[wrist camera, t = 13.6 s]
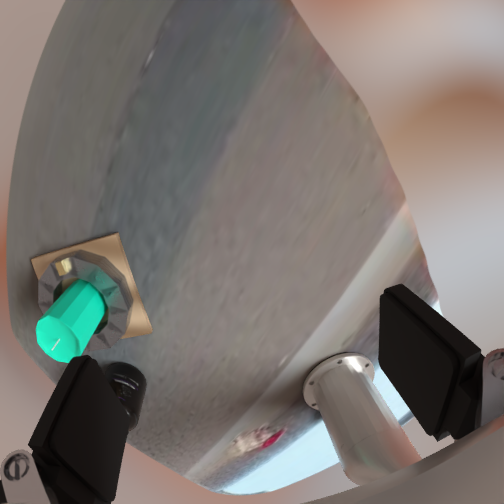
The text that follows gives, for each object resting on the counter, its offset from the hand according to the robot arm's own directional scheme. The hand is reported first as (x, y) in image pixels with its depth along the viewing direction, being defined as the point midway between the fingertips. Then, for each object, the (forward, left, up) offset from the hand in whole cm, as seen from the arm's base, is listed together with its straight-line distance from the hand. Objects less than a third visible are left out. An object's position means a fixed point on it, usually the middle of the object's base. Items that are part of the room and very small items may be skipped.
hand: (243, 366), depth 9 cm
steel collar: (-7, +20, -28) cm, 35 cm away
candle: (-7, +20, -28) cm, 35 cm away
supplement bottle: (-22, +21, -28) cm, 41 cm away
